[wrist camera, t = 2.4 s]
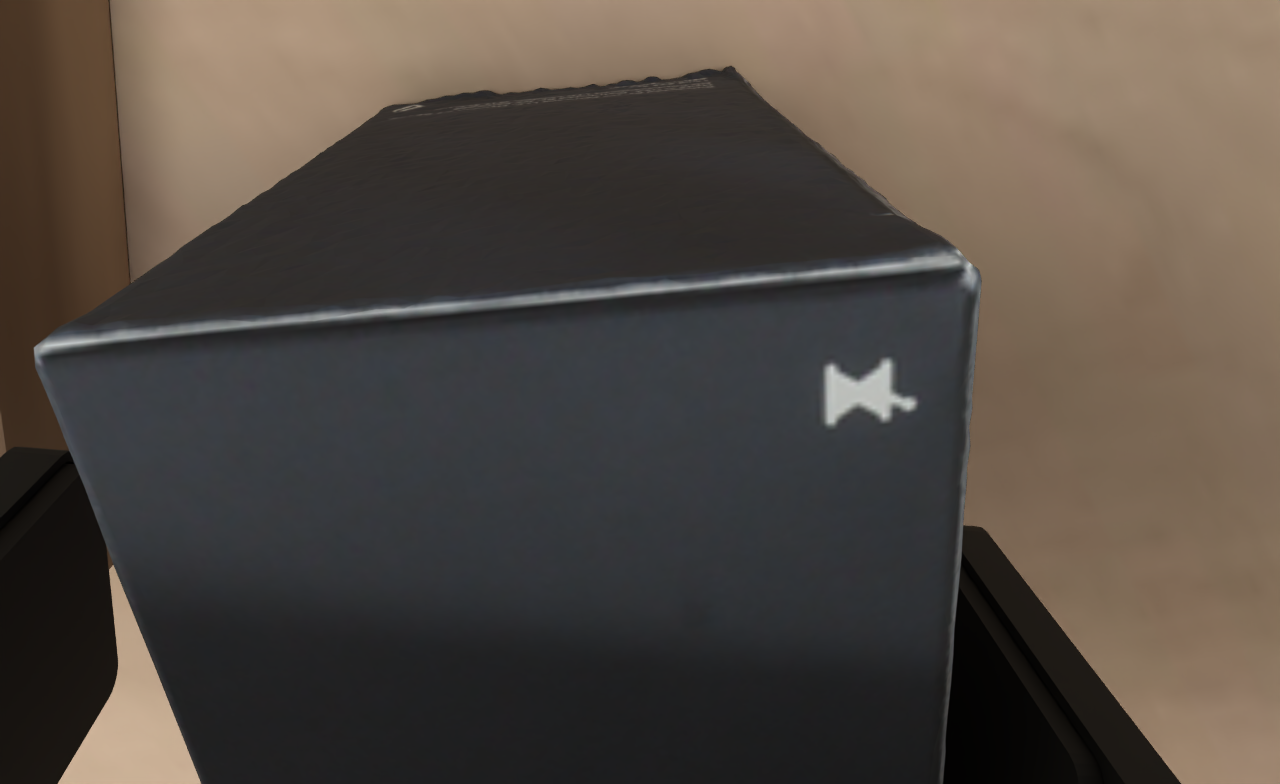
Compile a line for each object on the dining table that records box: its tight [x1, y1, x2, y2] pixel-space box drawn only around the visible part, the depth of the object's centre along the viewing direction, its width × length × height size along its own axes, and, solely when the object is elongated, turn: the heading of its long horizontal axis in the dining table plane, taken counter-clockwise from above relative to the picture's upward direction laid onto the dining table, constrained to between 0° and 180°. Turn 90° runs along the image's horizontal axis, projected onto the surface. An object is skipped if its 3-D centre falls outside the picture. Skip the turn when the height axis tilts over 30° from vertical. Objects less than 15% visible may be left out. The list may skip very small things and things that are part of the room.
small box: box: [34, 66, 982, 784], centre depth 12 cm, size 11×6×10 cm, turn 5°
